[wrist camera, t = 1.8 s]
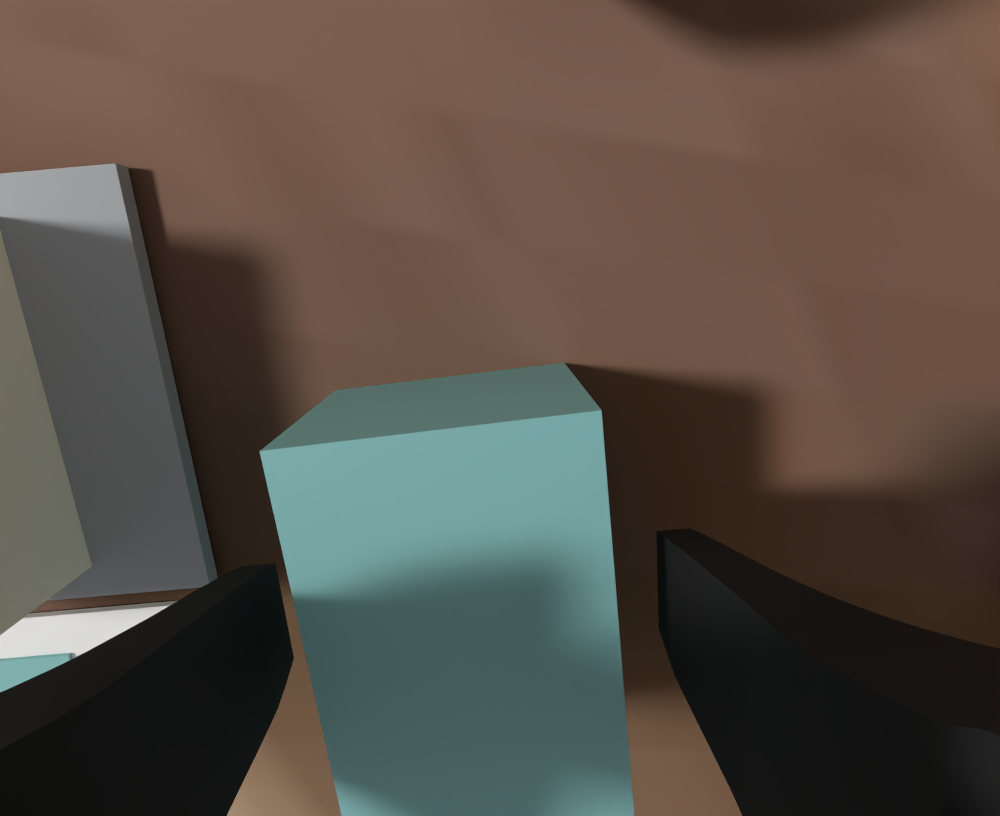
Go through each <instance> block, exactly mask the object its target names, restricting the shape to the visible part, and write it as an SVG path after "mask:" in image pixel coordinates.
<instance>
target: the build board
mask: <svg viewBox="0 0 1000 816" xmlns="http://www.w3.org/2000/svg"><path fill="white" fill-rule="evenodd" d="M0 231H1V235H2V238H3V242H4V246H5V249H6V253H7V257H8V260H9V264H10V268H11V271H12V275H13V279H14V282H15V286H16V290H17V293H18V297H19V300H20V304H21V308H22V311H23V315H24V319H25V322H26V326H27V330H28V333H29V337H30V341H31V344H32V348H33V352H34V355H35V359H36V363H37V366H38V370H39V374H40V377H41V381H42V385H43V388H44V392H45V396H46V399H47V403H48V407H49V410H50V414H51V417H52V421H53V425H54V428H55V432H56V436H57V439H58V443H59V447H60V450H61V454H62V458H63V461H64V465H65V469H66V472H67V476H68V480H69V483H70V487H71V491H72V494H73V498H74V502H75V505H76V509H77V513H78V516H79V520H80V524H81V527H82V531H83V535H84V538H85V542H86V545H87V549H88V553H89V556H90V560H91V564H92V567H90V568H89V569H88V570H86V571H85V572H84V573H82V574H81V575H80V576H78V577H77V578H76V579H74V580H73V581H72V582H70V583H69V584H68V585H66V586H65V587H64V588H62V589H61V590H60V591H58V592H57V593H56V594H54V595H53V596H52V597H50V598H49V599H48V600H46V601H50V600H61V599H73V598H84V597H96V596H108V595H119V594H131V593H142V592H154V591H165V590H177V589H189V588H200V587H203V586H205V585H206V584H208V583H210V582H212V581H214V580H215V579H217V578H218V576H217V571H216V567H215V562H214V558H213V553H212V548H211V544H210V539H209V535H208V530H207V526H206V521H205V517H204V512H203V507H202V503H201V498H200V494H199V489H198V485H197V480H196V475H195V471H194V466H193V462H192V457H191V453H190V448H189V444H188V439H187V434H186V430H185V425H184V421H183V416H182V412H181V407H180V403H179V398H178V393H177V389H176V384H175V380H174V375H173V371H172V366H171V362H170V357H169V352H168V348H167V343H166V339H165V334H164V330H163V325H162V321H161V316H160V311H159V307H158V302H157V298H156V293H155V289H154V284H153V280H152V275H151V270H150V266H149V261H148V257H147V252H146V248H145V243H144V238H143V234H142V229H141V225H140V220H139V216H138V211H137V207H136V202H135V197H134V193H133V188H132V184H131V179H130V175H129V170H128V167H126V166H123V165H119V164H104V165H92V166H81V167H70V168H59V169H48V170H36V171H25V172H14V173H3V174H0Z"/></svg>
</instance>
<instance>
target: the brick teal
mask: <svg viewBox="0 0 1000 816" xmlns="http://www.w3.org/2000/svg"><path fill="white" fill-rule="evenodd" d="M260 456H261V460H262V464H263V469H264V473H265V478H266V482H267V487H268V491H269V495H270V500H271V504H272V509H273V513H274V518H275V522H276V526H277V531H278V535H279V540H280V544H281V549H282V553H283V557H284V562H285V566H286V571H287V575H288V580H289V584H290V588H291V593H292V597H293V602H294V606H295V611H296V615H297V619H298V624H299V628H300V633H301V637H302V642H303V646H304V650H305V655H306V659H307V664H308V668H309V673H310V677H311V681H312V686H313V690H314V695H315V699H316V704H317V708H318V712H319V717H320V721H321V726H322V730H323V735H324V739H325V744H326V748H327V752H328V757H329V761H330V766H331V770H332V775H333V779H334V783H335V788H336V792H337V797H338V801H339V806H340V810H341V814H342V816H634V807H633V795H632V782H631V770H630V757H629V745H628V733H627V720H626V708H625V695H624V683H623V671H622V658H621V646H620V633H619V621H618V609H617V596H616V584H615V571H614V559H613V547H612V534H611V522H610V509H609V497H608V485H607V472H606V460H605V447H604V435H603V423H602V410H601V409H600V408H599V406H598V405H597V404H596V403H595V401H594V400H593V399H592V397H591V396H590V395H589V394H588V392H587V391H586V390H585V389H584V387H583V386H582V385H581V383H580V382H579V381H578V380H577V378H576V377H575V376H574V374H573V373H572V372H571V371H570V369H569V368H568V367H567V366H566V364H565V363H558V364H549V365H541V366H533V367H524V368H516V369H508V370H500V371H491V372H483V373H475V374H466V375H458V376H450V377H441V378H433V379H425V380H417V381H408V382H400V383H392V384H383V385H375V386H367V387H358V388H350V389H342V390H335V391H334V392H333V393H332V394H330V395H329V396H328V397H327V398H325V399H324V400H323V401H322V402H320V403H319V404H318V405H317V406H315V407H314V408H313V409H312V410H310V411H309V412H308V413H307V414H305V415H304V416H303V417H302V418H300V419H299V420H298V421H297V422H295V423H294V424H293V425H292V426H290V427H289V428H288V429H287V430H285V431H284V432H283V433H282V434H280V435H279V436H278V437H277V438H275V439H274V440H273V441H272V442H270V443H269V444H268V445H267V446H265V447H264V448H263V449H262V450H260Z"/></svg>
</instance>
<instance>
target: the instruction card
mask: <svg viewBox="0 0 1000 816" xmlns="http://www.w3.org/2000/svg"><path fill="white" fill-rule="evenodd" d="M178 601H179V600H178ZM175 602H177V601H167V602H155V603H144V604H132V605H121V606H109V607H97V608H86V609H74V610H63V611H51V612H40V613H29V614H28V615H26V616H25V617H24V618H23V619H21V620H20V621H19V622H17V623H16V624H15V625H13V626H12V627H11V628H9V629H8V630H7V631H5V632H4V633H3V634H1V635H0V692H2V691H5V690H7V689H9V688H11V687H14V686H16V685H18V684H20V683H22V682H25V681H27V680H29V679H31V678H33V677H35V676H38V675H40V674H42V673H44V672H46V671H49V670H51V669H53V668H55V667H57V666H59V665H61V664H63V663H65V662H67V661H69V660H71V659H73V658H75V657H77V656H79V655H81V654H83V653H85V652H87V651H89V650H91V649H92V648H94V647H96V646H98V645H100V644H102V643H103V642H105V641H107V640H109V639H111V638H113V637H115V636H116V635H118V634H120V633H122V632H124V631H126V630H127V629H129V628H131V627H133V626H135V625H137V624H138V623H140V622H142V621H144V620H146V619H147V618H149V617H151V616H153V615H154V614H156V613H158V612H160V611H161V610H163V609H165V608H166V607H168V606H170V605H172V604H173V603H175Z"/></svg>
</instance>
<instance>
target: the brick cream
mask: <svg viewBox="0 0 1000 816" xmlns="http://www.w3.org/2000/svg"><path fill="white" fill-rule="evenodd" d="M90 567H92V564H91V560H90V556H89V553H88V549H87V545H86V542H85V538H84V535H83V531H82V527H81V524H80V520H79V516H78V513H77V509H76V505H75V502H74V498H73V494H72V491H71V487H70V483H69V480H68V476H67V472H66V469H65V465H64V461H63V458H62V454H61V450H60V447H59V443H58V439H57V436H56V432H55V428H54V425H53V421H52V417H51V414H50V410H49V407H48V403H47V399H46V396H45V392H44V388H43V385H42V381H41V377H40V374H39V370H38V366H37V363H36V359H35V355H34V352H33V348H32V344H31V341H30V337H29V333H28V330H27V326H26V322H25V319H24V315H23V311H22V308H21V304H20V300H19V297H18V293H17V290H16V286H15V282H14V279H13V275H12V271H11V268H10V264H9V260H8V257H7V253H6V249H5V246H4V242H3V238H2V235H1V231H0V635H1V634H3V633H4V632H5V631H7V630H8V629H9V628H11V627H12V626H13V625H15V624H16V623H17V622H19V621H20V620H21V619H23V618H24V617H25V616H26V615H28V614H29V613H30V612H32V611H33V610H34V609H36V608H37V607H38V606H40V605H41V604H42V603H44V602H45V601H46V600H48V599H49V598H50V597H52V596H53V595H54V594H56V593H57V592H58V591H60V590H61V589H62V588H64V587H65V586H66V585H68V584H69V583H70V582H72V581H73V580H74V579H76V578H77V577H78V576H80V575H81V574H82V573H84V572H85V571H86V570H88V569H89V568H90Z"/></svg>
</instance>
